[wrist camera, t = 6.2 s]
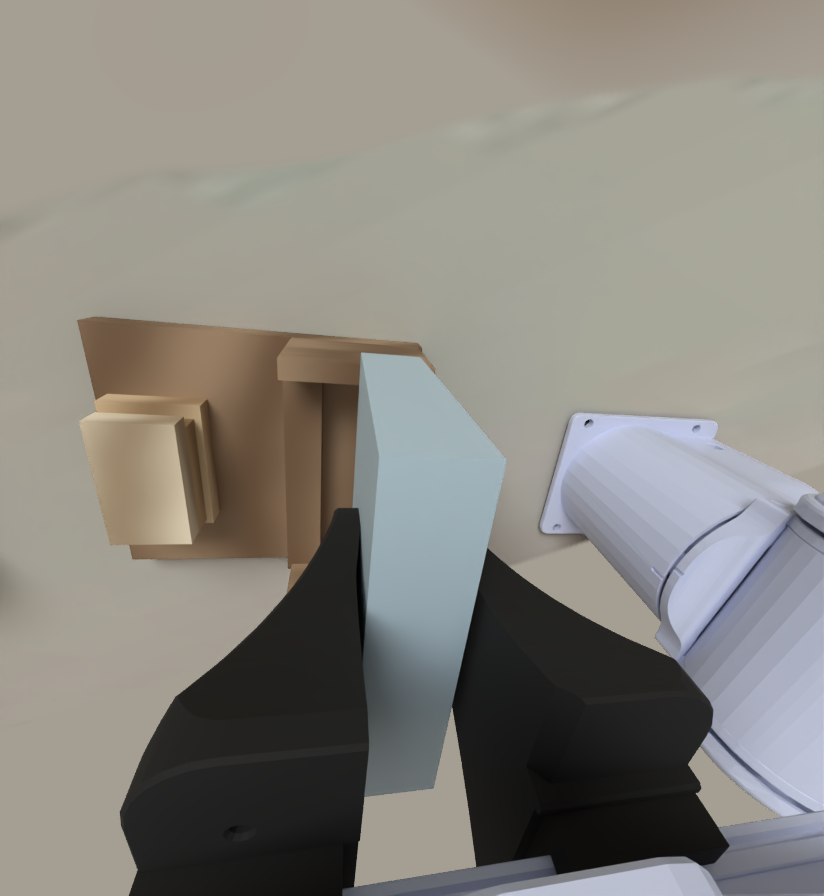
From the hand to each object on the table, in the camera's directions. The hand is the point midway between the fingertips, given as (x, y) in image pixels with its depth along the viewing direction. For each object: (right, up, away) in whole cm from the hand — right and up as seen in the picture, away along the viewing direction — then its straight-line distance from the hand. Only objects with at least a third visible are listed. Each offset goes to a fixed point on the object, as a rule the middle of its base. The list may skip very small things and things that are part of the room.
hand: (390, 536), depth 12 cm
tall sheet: (-1, +2, +3) cm, 4 cm away
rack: (-7, +3, +9) cm, 11 cm away
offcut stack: (-11, +2, +7) cm, 13 cm away
